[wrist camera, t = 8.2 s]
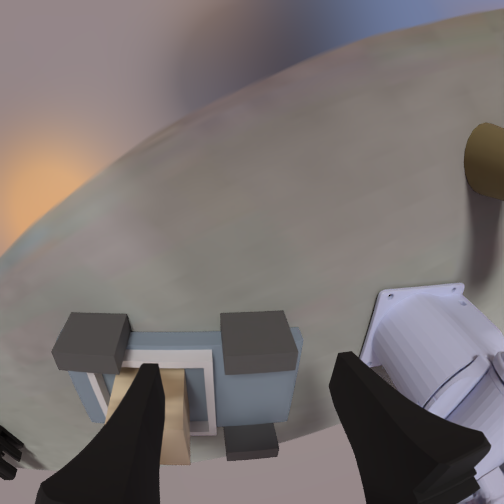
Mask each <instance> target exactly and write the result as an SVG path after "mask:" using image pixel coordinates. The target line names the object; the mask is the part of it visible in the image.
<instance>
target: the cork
mask: <svg viewBox="0 0 504 504" xmlns="http://www.w3.org/2000/svg"><path fill="white" fill-rule="evenodd" d="M464 167H465V175H466V177H467V180H468V183H469V185H470V186H471V188H472V189H473V190H474V191H475V192H477V193H479V194H481V195H485V196H489V197H492V198H496V199H500V200H504V128H501V127H499V126H496V125H494V124H490V123H483V124H480V125H478V126H477V127H476V128H475V129H474V130H473V131H472V133H471V135H470V137H469V139H468V141H467V145H466V149H465V156H464Z"/></svg>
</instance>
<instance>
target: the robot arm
mask: <svg viewBox="0 0 504 504" xmlns="http://www.w3.org/2000/svg"><path fill="white" fill-rule="evenodd" d="M464 287H465V286H464V284H463V283H461V282H460V283H450V284H440V285H430V286H420V287H409V288H397V289H385V290H382V291H381V292H380V293H379V294H378V297H377V301H376V305H375V308H374V312H373V316H372V319H371V323H370V326H369V329H368V333H367V336H366V339H365V342H364V346H363V349H362V352H361V355H360V358H358V357H357V356H356V355H355V354H354V353H353V352H352V351H350V352H343V353H338V356H337V359H336V363H335V366H334V370H333V373H332V377H331V380H330V383H329V389H330V393H331V397H332V400H333V404H334V407H335V409H336V412H337V414H338V416H339V419H340V421H341V423H342V426H343V428H344V430H345V433H346V434H347V437H348V439H349V442H350V444H351V446H352V449H353V452H354V454H355V458H356V461H357V465H358V468H359V472H360V476H361V480H362V484H363V489H364V493H365V498H366V504H504V337H503V334H502V333H501V331H500V330H499V329H498V327H497V326H496V325H495V324H494V323H492V322H491V321H490V320H489V319H488V318H487V317H486V316H485V315H484V314H483V313H482V312H481V311H480V310H479V309H478V308H477V307H476V306H474V305H473V304H472V303H471V302H470V301H469V300H468V299H467V298H466V297H465V296H463V295H462V294H463V291H464ZM390 294H391V296H389V295H390ZM388 296H389V297H388ZM380 365H382V366H383V367H384V369H385V370H386V372H387V374H388V375H389V377H390V379H391V380H392V382H393V383H394V385H395V387H396V388H397V390H398V391H397V390H396V389H394V388H393V387H392V386H391V385H389V384H388V383H387V382H386V381H384V380H383V379H382V378H381V377H380V376H379V375H377V374H376V373H375V372H374V371H373V370H372V369H371V368H370V367H374V366H380ZM164 423H165V393H164V389H163V384H162V379H161V374H160V369H159V364H158V363H143V364H142V365H141V366H140V368H139V370H138V372H137V374H136V376H135V378H134V380H133V382H132V384H131V385H130V387H129V389H128V391H127V392H126V394H125V396H124V397H123V399H122V401H121V402H120V404H119V405H118V407H117V408H116V410H115V411H114V413H113V414H112V415H111V417H110V418H109V420H108V421H107V422H106V424H105V425H104V426H103V428H102V429H101V430H100V431H99V433H98V434H97V435H96V436H95V437H94V438H93V439H92V441H91V442H90V443H89V444H88V445H87V446H86V447H85V448H84V449H83V450H82V451H81V452H80V453H79V454H78V455H77V456H76V457H75V458H73V459H72V460H71V461H70V462H69V463H68V464H67V465H65V466H64V467H63V468H62V469H60V470H59V471H58V472H57V473H55V474H54V475H52V476H51V477H49V478H48V479H46V480H45V481H43V482H42V483H41V485H40V488H39V490H38V493H37V497H36V502H35V504H160V492H159V467H160V457H161V448H162V440H163V431H164Z"/></svg>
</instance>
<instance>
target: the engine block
mask: <svg viewBox="0 0 504 504" xmlns="http://www.w3.org/2000/svg"><path fill="white" fill-rule="evenodd" d="M159 369H160V374H161V379H162V384H163V389H164V393H165V423H164V431H163V440H162V448H161V457H160V464H163V465H190V408H189V401H188V394H187V386H186V378H185V370H184V368H159ZM138 370H139V368H132V367H121V371H120V375H116V376H115V380H114V384H113V388H112V393H111V397H110V401H109V406H108V410H107V415H106V420H105V424H106V422H107V421H108V420H109V418H110V417H111V415H112V414H113V413H114V411H115V410H116V408H117V407H118V405H119V404H120V402H121V401H122V399H123V397H124V396H125V394H126V392H127V391H128V389H129V387H130V385H131V384H132V382H133V380H134V378H135V376H136V374H137V372H138Z"/></svg>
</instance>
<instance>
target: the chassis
mask: <svg viewBox="0 0 504 504" xmlns="http://www.w3.org/2000/svg"><path fill="white" fill-rule="evenodd" d="M220 317H221V331H212V332H130V327H129V323H128V318H127V314H106V313H74V312H71V314H70V316H69V318H68V320H67V322H66V324H65V326H64V327H63V329H62V330H61V332H60V334H59V336H58V338H57V340H56V343H55V345H54V347H53V349H52V351H51V352H52V355H53V357H54V359H55V362H56V364H57V366H58V369H59V370H65V371H68V372H69V375H70V377H71V379H72V382H73V384H74V386H75V388H76V390H77V393H78V395H79V397H80V399H81V401H82V403H83V405H84V407H85V409H86V411H87V413H88V415H89V417H90V419H91V421H92V422H96V423H105V420H106V415H107V410H108V406H109V401H110V397H111V393H112V388H113V384H114V380H115V376H116V375H120V371H121V367H132V368H140V366H141V365H142V364H143V363H158V364H159V368H184V370H185V378H186V386H187V394H188V401H189V408H190V436H204V435H217V431H216V427H224V437H225V446H226V456H227V461H236V460H249V459H259V458H270V457H277V455H278V451H279V446H278V441H277V437H276V433H275V429H274V424H273V423H275V422H284V421H287V420H288V415H289V411H290V406H291V401H292V396H293V392H294V387H295V382H296V377H297V372H298V366H299V361H300V356H301V351H302V345H303V338H302V335H301V333H300V330H299V328H298V327H294V328H290V327H289V325H288V322H287V319H286V317H285V314H284V311H265V312H241V313H220ZM104 425H105V424H104Z"/></svg>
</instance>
